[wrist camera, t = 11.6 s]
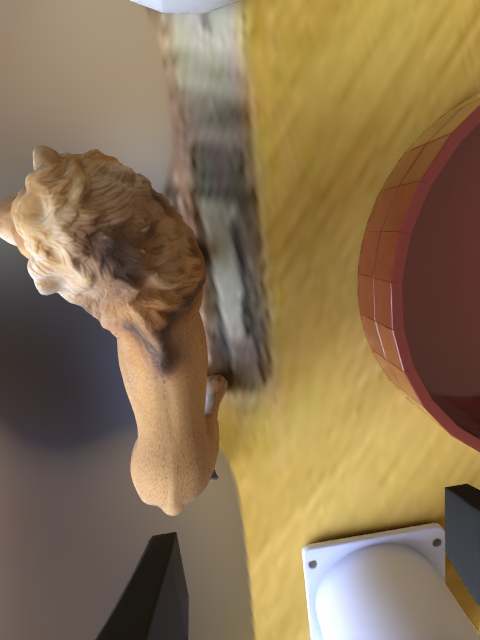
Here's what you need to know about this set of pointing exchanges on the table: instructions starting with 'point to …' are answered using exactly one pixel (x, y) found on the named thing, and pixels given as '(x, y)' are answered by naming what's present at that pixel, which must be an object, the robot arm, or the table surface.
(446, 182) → the bowl
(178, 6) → the donut
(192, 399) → the lion figurine
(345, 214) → the table surface
